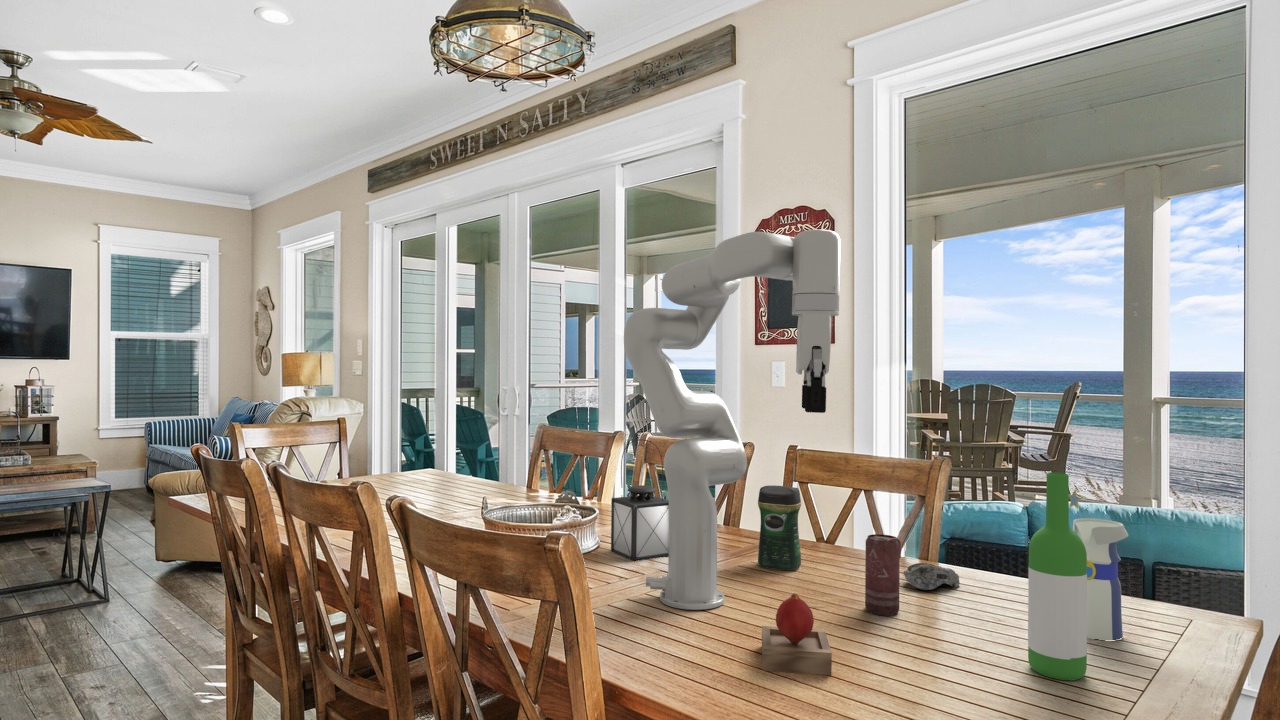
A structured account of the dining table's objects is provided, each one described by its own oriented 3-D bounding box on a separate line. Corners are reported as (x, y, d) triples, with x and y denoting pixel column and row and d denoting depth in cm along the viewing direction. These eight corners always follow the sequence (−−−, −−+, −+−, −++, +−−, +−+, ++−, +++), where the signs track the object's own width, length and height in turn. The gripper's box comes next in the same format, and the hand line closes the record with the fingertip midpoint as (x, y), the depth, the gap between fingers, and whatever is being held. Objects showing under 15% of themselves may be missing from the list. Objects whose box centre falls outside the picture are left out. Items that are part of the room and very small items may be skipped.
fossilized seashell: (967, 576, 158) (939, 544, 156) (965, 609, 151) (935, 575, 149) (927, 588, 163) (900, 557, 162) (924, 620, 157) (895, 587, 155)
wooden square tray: (763, 670, 112) (763, 648, 112) (761, 646, 121) (762, 625, 122) (831, 675, 110) (831, 652, 110) (824, 650, 120) (824, 629, 120)
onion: (771, 637, 119) (772, 586, 119) (807, 636, 119) (807, 586, 119) (780, 650, 113) (781, 598, 113) (818, 650, 113) (818, 597, 113)
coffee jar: (804, 565, 172) (805, 485, 173) (794, 573, 165) (795, 490, 166) (764, 560, 177) (765, 482, 177) (753, 567, 170) (754, 486, 170)
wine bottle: (1099, 680, 109) (1100, 476, 110) (1054, 684, 108) (1054, 477, 108) (1059, 660, 117) (1059, 469, 117) (1016, 663, 115) (1017, 470, 116)
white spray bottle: (1108, 645, 123) (1109, 495, 124) (1059, 629, 131) (1059, 487, 131) (1137, 638, 127) (1137, 492, 128) (1087, 622, 135) (1087, 484, 135)
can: (902, 617, 136) (903, 541, 137) (866, 615, 138) (867, 539, 138) (898, 607, 142) (898, 534, 143) (863, 605, 144) (864, 532, 144)
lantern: (610, 551, 184) (611, 438, 184) (649, 546, 190) (649, 436, 190) (632, 562, 174) (633, 442, 174) (672, 556, 180) (673, 440, 180)
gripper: (790, 309, 131) (788, 406, 131) (794, 302, 114) (791, 413, 114) (834, 310, 130) (831, 408, 130) (844, 302, 113) (842, 414, 113)
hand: (813, 410), depth 122 cm, fingers open, 9 cm apart
